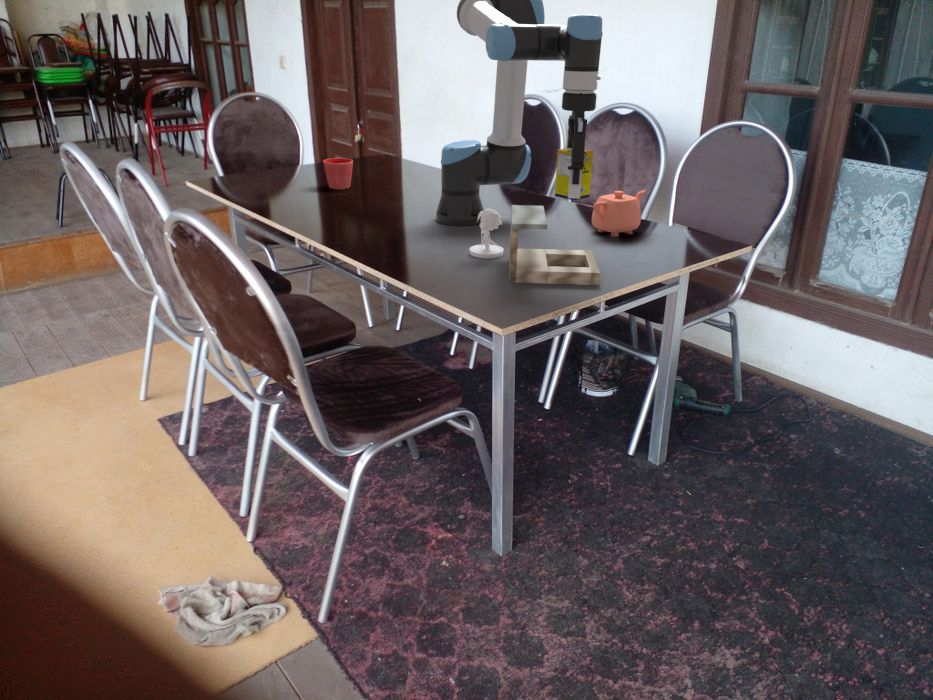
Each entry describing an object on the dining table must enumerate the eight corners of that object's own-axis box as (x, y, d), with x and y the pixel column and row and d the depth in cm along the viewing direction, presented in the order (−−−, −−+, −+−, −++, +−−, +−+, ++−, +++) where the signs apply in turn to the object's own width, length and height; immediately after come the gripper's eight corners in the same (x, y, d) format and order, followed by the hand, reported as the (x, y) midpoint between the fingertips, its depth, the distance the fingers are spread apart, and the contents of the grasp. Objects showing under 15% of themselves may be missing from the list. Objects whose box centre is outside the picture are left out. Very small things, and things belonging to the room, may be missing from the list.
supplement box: (590, 197, 166) (594, 150, 161) (573, 201, 162) (577, 152, 157) (570, 193, 170) (574, 146, 165) (554, 196, 166) (557, 149, 161)
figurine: (468, 248, 191) (468, 204, 186) (501, 248, 191) (502, 204, 186) (471, 258, 182) (471, 213, 177) (505, 258, 183) (507, 212, 178)
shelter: (509, 282, 166) (511, 223, 160) (509, 259, 182) (511, 205, 176) (598, 285, 165) (604, 225, 159) (590, 261, 181) (595, 207, 175)
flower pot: (360, 186, 261) (359, 159, 256) (340, 191, 252) (338, 164, 248) (339, 183, 266) (337, 156, 262) (318, 188, 257) (316, 161, 253)
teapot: (606, 241, 199) (610, 199, 193) (577, 231, 207) (581, 191, 202) (655, 231, 209) (660, 191, 204) (626, 222, 218) (630, 183, 212)
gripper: (602, 96, 146) (593, 204, 156) (591, 88, 165) (583, 185, 175) (566, 95, 147) (559, 203, 156) (559, 87, 165) (553, 184, 175)
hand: (572, 193), depth 165 cm, fingers closed on supplement box, 8 cm apart
